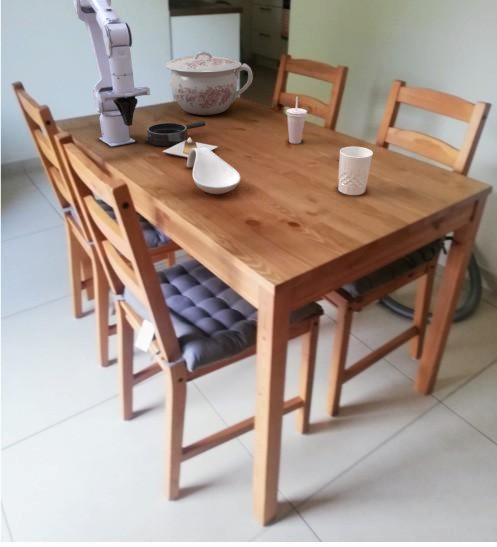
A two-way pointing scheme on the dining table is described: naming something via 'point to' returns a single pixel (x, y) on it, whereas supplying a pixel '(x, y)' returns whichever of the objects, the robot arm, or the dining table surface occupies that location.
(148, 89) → the robot arm
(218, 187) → the spoon rest
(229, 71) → the chamber pot
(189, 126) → the pan handle
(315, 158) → the dining table surface
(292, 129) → the smoothie
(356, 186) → the white cup
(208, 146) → the dessert
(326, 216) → the dining table surface
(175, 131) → the pan
